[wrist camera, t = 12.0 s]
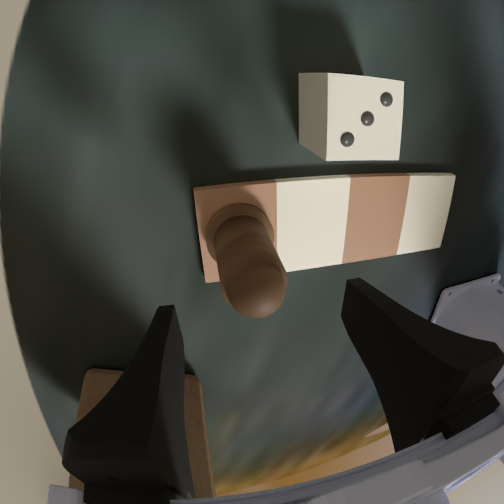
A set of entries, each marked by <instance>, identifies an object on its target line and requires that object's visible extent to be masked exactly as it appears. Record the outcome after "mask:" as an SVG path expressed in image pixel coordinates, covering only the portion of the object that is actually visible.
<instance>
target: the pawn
mask: <svg viewBox="0 0 504 504" xmlns="http://www.w3.org/2000/svg"><path fill="white" fill-rule="evenodd" d="M205 234H206V245H207V249H208V252H209V254H210V256H211V257H212V258H213V259H214V260H215V261H216V262H217V267H218V274H219V280H220V286H221V291H222V295H223V297H224V299H225V300H226V302H227V303H228V304H229V305H231V306H232V307H233V308H234V309H235V310H236V311H237V312H239V313H240V314H242V315H244V316H247V317H250V318H261V317H265V316H268V315H270V314H272V313H273V312H274V311H276V310H277V309H278V308H279V306H280V305H281V303H282V302H283V300H284V297H285V291H286V288H287V284H288V276H287V273H286V270H285V268H284V266H283V264H282V262H281V260H280V258H279V256H278V253H277V251H276V249H275V247H274V245H273V243H274V229H273V227H272V224H271V222H270V221H269V219H268V217H267V215H266V214H265V213H264V212H263V211H262V210H261V209H260V208H258V207H256V206H254V205H252V204H248V203H234V204H230V205H227V206H225V207H223V208H221V209H219V210H218V211H217V212H216V213H215V214H214V215H213V216H212V217H211V218H210V220H209V222H208V224H207V227H206V233H205Z"/></svg>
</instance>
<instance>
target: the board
mask: <svg viewBox="0 0 504 504" xmlns="http://www.w3.org/2000/svg"><path fill="white" fill-rule="evenodd" d="M455 177H456V176H455V175H454V174H452V173H373V174H347V175H327V176H310V177H296V178H282V179H270V180H259V181H248V182H238V183H228V184H219V185H210V186H202V187H194V188H193V190H194V199H195V208H196V216H197V223H198V231H199V239H200V246H201V253H202V260H203V267H204V274H205V281H206V283H210V282H217V281H220V280H219V274H218V267H217V262H216V261H215V260H214V259H213V258H212V257H211V256H210V254H209V252H208V249H207V245H206V234H205V233H206V227H207V224H208V222H209V220H210V218H211V217H212V216H213V215H214V214H215V213H216V212H217V211H218V210H219V209H221V208H223V207H225V206H227V205H230V204H234V203H248V204H252V205H254V206H256V207H258V208H260V209H261V210H262V211H263V212H264V213H265V214H266V215H267V217H268V219H269V221H270V222H271V224H272V227H273V229H274V243H273V245H274V247H275V249H276V251H277V253H278V256H279V258H280V260H281V262H282V264H283V266H284V268H285V270H286V272H290V271H296V270H303V269H310V268H317V267H323V266H330V265H336V264H343V263H349V262H356V261H362V260H368V259H375V258H381V257H387V256H393V255H399V254H405V253H411V252H417V251H423V250H429V249H434V248H440V246H441V242H442V238H443V234H444V230H445V226H446V222H447V217H448V213H449V208H450V204H451V199H452V194H453V188H454V183H455Z"/></svg>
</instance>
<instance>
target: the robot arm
mask: <svg viewBox="0 0 504 504" xmlns="http://www.w3.org/2000/svg"><path fill="white" fill-rule="evenodd" d="M499 279H500V275H499V274H498V273H497V274H493V275H490V276H487V277H484V278H480V279H477V280H474V281H470V282H467V283H464V284H460V285H457V286H453V287H450V288H446V289H444V290H443V291H442V293H441V295H440V298H439V301H438V303H437V306H436V309H435V311H434V314H433V316H432V319H431V321H428V320H426V319H424V318H422V317H420V316H419V315H417V314H415V313H413V312H412V311H410V310H408V309H407V308H405V307H403V306H402V305H400V304H399V303H397V302H395V301H394V300H392V299H391V298H389V297H388V296H386V295H385V294H383V293H382V292H380V291H379V290H378V289H376V288H375V287H373V286H372V285H370V284H369V283H367V282H366V281H364V280H362V279H361V278H355V279H349V280H347V282H346V289H345V295H344V301H343V306H342V312H341V317H342V320H343V323H344V326H345V328H346V331H347V333H348V335H349V337H350V339H351V341H352V343H353V345H354V346H355V348H356V350H357V352H358V354H359V355H360V357H361V359H362V361H363V363H364V364H365V366H366V368H367V370H368V372H369V374H370V376H371V378H372V380H373V382H374V385H375V387H376V390H377V392H378V395H379V397H380V400H381V403H382V406H383V409H384V412H385V415H386V418H387V422H388V425H389V429H390V432H391V436H392V440H393V445H394V449H395V453H394V454H391V455H389V456H386V457H384V458H381V459H379V460H376V461H373V462H370V463H367V464H365V465H362V466H359V467H356V468H353V469H350V470H346V471H343V472H340V473H337V474H333V475H330V476H326V477H323V478H319V479H315V480H311V481H307V482H303V483H299V484H294V485H290V486H285V487H281V488H275V489H270V490H264V491H259V492H252V493H246V494H238V495H231V496H221V497H211V498H198V499H196V495H195V490H194V485H193V479H192V474H191V468H190V461H189V455H188V447H187V439H186V431H185V421H184V377H185V357H184V344H183V338H182V334H181V330H180V326H179V322H178V318H177V315H176V310H175V306H174V305H166V306H159V307H158V308H157V310H156V313H155V315H154V318H153V320H152V322H151V324H150V326H149V328H148V331H147V333H146V335H145V336H144V338H143V340H142V342H141V344H140V346H139V348H138V350H137V351H136V353H135V355H134V356H133V358H132V360H131V361H130V363H129V365H128V366H127V368H126V369H125V371H124V372H123V373H122V375H121V376H120V378H119V379H118V380H117V382H116V383H115V384H114V385H113V387H112V388H111V389H110V390H109V392H108V393H107V394H106V395H105V396H104V397H103V398H102V399H101V400H100V402H99V403H98V404H97V405H96V406H95V407H94V408H93V409H92V410H91V411H90V412H89V413H88V414H87V415H85V416H84V417H83V418H82V419H81V420H80V421H78V422H77V423H76V424H75V425H74V426H72V427H71V428H70V429H68V432H67V436H66V439H65V444H64V451H63V458H62V464H63V467H64V468H65V469H66V470H67V471H68V472H69V473H71V474H72V475H73V476H75V477H76V478H77V479H79V480H80V481H81V482H83V483H84V491H82V490H80V489H76V488H70V487H64V486H57V485H52V484H51V485H49V492H48V503H47V504H450V502H449V500H448V498H447V496H446V493H447V492H449V491H451V490H452V489H454V488H455V487H457V486H459V485H460V484H462V483H464V482H465V481H467V480H468V479H470V478H471V477H472V476H474V475H476V474H477V473H479V472H480V471H481V470H483V469H484V468H486V467H487V466H489V465H490V464H491V463H493V462H494V461H495V460H497V459H499V460H500V461H502V463H503V464H504V288H503V287H502V286H501V285H500V284H499V283H498V281H499Z"/></svg>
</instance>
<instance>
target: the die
mask: <svg viewBox="0 0 504 504" xmlns="http://www.w3.org/2000/svg"><path fill="white" fill-rule="evenodd" d="M298 76H299V144H301V145H302V146H304V147H306V148H307V149H309V150H310V151H312V152H313V153H315V154H316V155H318V156H319V157H321V158H322V159H324V160H325V161H347V160H399V153H400V142H401V130H402V116H403V96H404V82H403V81H397V80H391V79H384V78H376V77H368V76H360V75H350V74H338V73H298Z"/></svg>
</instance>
